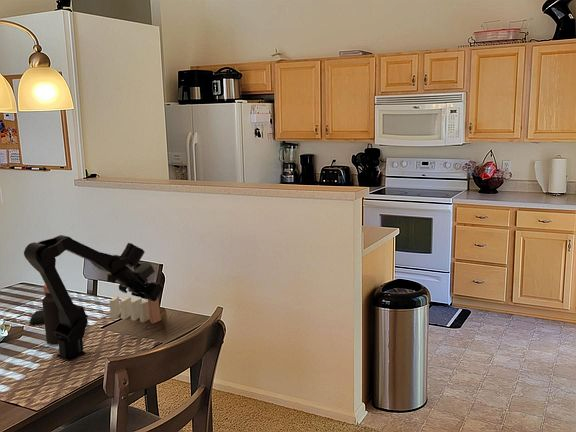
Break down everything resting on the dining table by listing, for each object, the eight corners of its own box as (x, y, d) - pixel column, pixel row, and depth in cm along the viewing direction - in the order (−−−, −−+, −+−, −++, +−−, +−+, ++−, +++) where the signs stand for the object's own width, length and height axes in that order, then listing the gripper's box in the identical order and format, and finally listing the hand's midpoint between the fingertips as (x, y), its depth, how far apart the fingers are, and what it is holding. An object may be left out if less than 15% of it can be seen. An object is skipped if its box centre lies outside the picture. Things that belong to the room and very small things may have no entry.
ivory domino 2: (132, 314, 215) (130, 296, 214) (125, 319, 210) (123, 301, 209) (128, 314, 216) (126, 296, 214) (121, 319, 211) (119, 301, 209)
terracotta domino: (160, 320, 208) (157, 294, 206) (153, 323, 206) (150, 298, 203) (157, 319, 209) (154, 294, 207) (150, 322, 206) (147, 297, 204)
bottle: (59, 345, 188) (53, 288, 184) (42, 343, 190) (35, 286, 186) (72, 337, 194) (66, 282, 190) (55, 335, 196) (49, 280, 192)
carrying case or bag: (28, 327, 205) (72, 323, 209) (28, 319, 204) (71, 315, 208) (33, 317, 215) (75, 313, 219) (33, 309, 214) (74, 305, 218)
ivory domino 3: (142, 315, 214) (141, 298, 212) (134, 320, 209) (133, 302, 208) (139, 315, 214) (138, 297, 213) (131, 320, 210) (129, 302, 208)
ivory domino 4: (152, 317, 211) (151, 300, 210) (143, 322, 207) (142, 304, 206) (149, 317, 212) (148, 299, 211) (140, 321, 208) (138, 303, 207)
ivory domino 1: (120, 313, 216) (118, 296, 215) (114, 318, 211) (113, 300, 210) (116, 313, 216) (114, 296, 215) (110, 318, 211) (109, 300, 210)
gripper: (156, 261, 193) (183, 284, 204) (122, 254, 204) (149, 275, 215) (140, 290, 188) (167, 311, 199) (106, 280, 199) (134, 301, 210)
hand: (154, 298), depth 206 cm, fingers closed on terracotta domino, 2 cm apart
